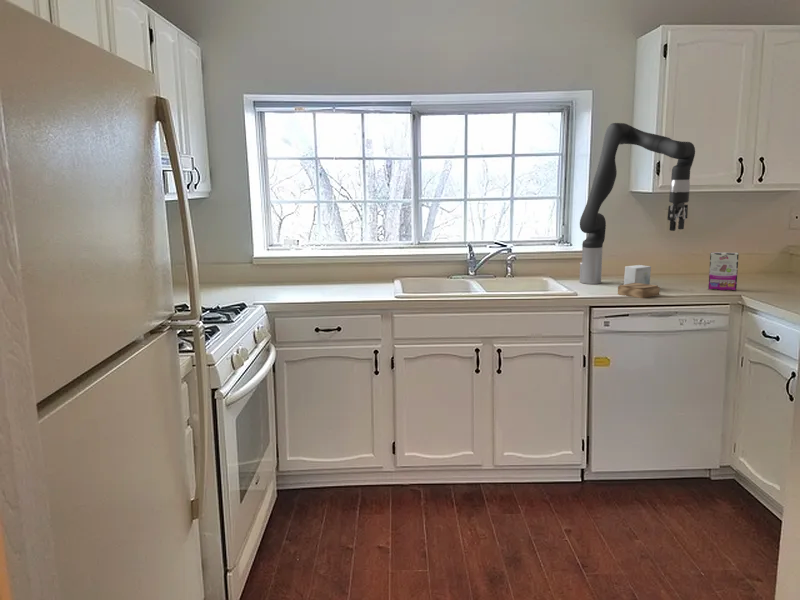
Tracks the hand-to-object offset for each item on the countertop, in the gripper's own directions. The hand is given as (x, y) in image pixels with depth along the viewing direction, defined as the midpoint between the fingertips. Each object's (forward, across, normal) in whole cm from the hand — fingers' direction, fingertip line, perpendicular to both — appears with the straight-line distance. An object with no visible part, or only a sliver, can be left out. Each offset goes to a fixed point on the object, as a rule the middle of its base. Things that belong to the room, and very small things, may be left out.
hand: (676, 230), depth 265 cm
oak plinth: (+27, +11, -10) cm, 31 cm away
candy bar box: (+27, -24, +12) cm, 38 cm away
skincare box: (+28, -2, -17) cm, 33 cm away
